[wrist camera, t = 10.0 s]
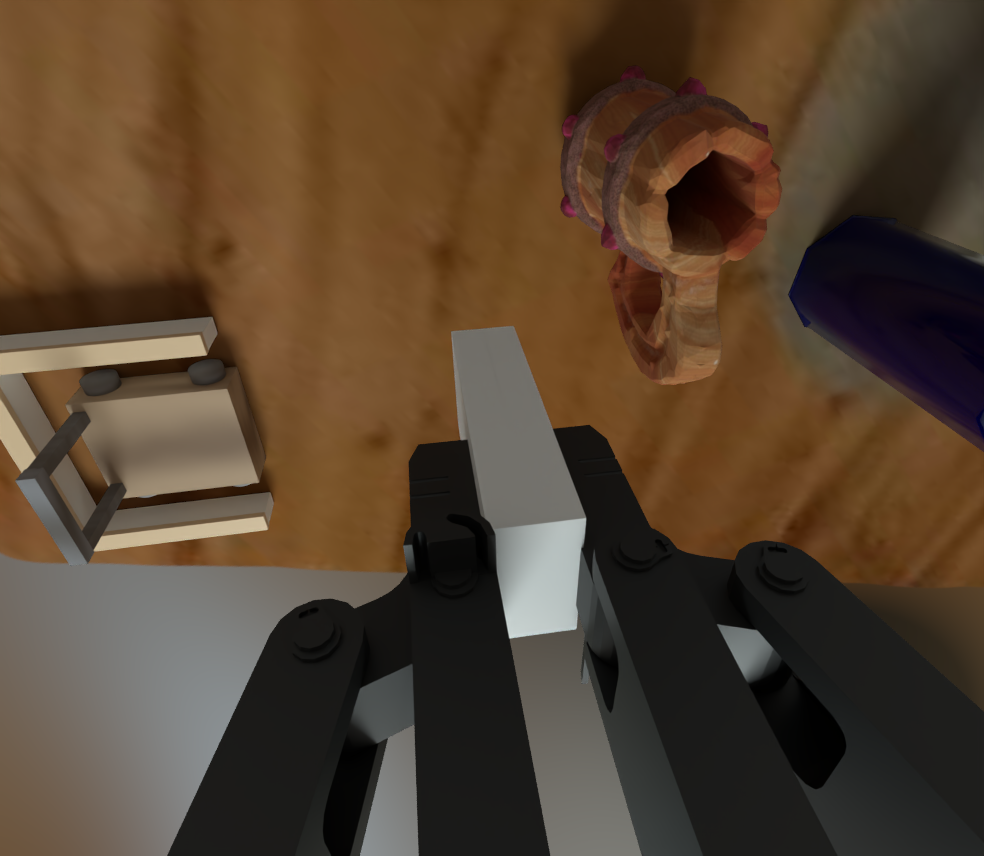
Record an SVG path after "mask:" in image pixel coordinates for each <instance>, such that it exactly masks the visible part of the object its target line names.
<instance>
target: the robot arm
mask: <svg viewBox="0 0 984 856" xmlns="http://www.w3.org/2000/svg"><path fill="white" fill-rule="evenodd" d="M451 334H452V347H453V360H454V373H455V386H456V400H457V413H458V425H459V432H460V438H461V440H458V441H448V442H439V443H429V444H420V445H418V446H417V448H416V450H415V452H414V453H413V455H412V457H411V459H410V460H409V482H410V484H409V485H410V513H411V528H410V529H409V530H408V531H407V532H406V537H405V541H404V545H403V547H404V553H405V559H406V565H407V570H408V573H407V575H406V576H405V578H404V579H403V580H402V581H401V583H400V584H399V585H398V586H397V587H395V588H394V589H393V590H392V591H390V592H389V593H388V594H386V595H384V596H382V597H380V598H378V599H376V600H374V601H371V602H369V603H367V604H364V605H362V606H360V607H357V608H355V609H354V608H353V607H352V606H351V605H349V604H348V603H346V602H342V601H339V600H335V599H322V600H313V601H311V602H308V603H306V604H303V605H301V606H298V607H296V608H295V609H293V610H292V611H291V612H290V613H288V614H287V615H286V616H284V617H283V618H282V619H281V620H280V621H279V622H278V624H277V625H276V627H275V628H274V630H273V631H272V633H271V634H270V636H269V638H268V640H267V642H266V645H265V647H264V649H263V651H262V653H261V655H260V657H259V660H258V662H257V664H256V666H255V668H254V671H253V672H252V675H251V677H250V679H249V681H248V683H247V685H246V687H245V690H244V692H243V694H242V696H241V698H240V701H239V703H238V705H237V707H236V709H235V711H234V713H233V715H232V718H231V720H230V722H229V724H228V727H227V728H226V731H225V733H224V735H223V737H222V739H221V741H220V743H219V745H218V748H217V750H216V752H215V754H214V756H213V758H212V761H211V763H210V765H209V767H208V769H207V771H206V773H205V776H204V778H203V780H202V782H201V784H200V786H199V789H198V791H197V793H196V795H195V797H194V799H193V801H192V803H191V806H190V808H189V810H188V812H187V814H186V816H185V819H184V821H183V823H182V825H181V827H180V829H179V831H178V834H177V836H176V838H175V840H174V842H173V844H172V846H171V849H170V851H169V853H168V855H167V856H360V852H361V848H362V844H363V840H364V835H365V832H366V827H367V823H368V819H369V815H370V811H371V806H372V802H373V798H374V794H375V790H376V786H377V782H378V777H379V773H380V769H381V765H382V761H383V756H384V752H385V748H386V744H387V740H388V737H390V736H392V735H394V734H396V733H398V732H400V731H402V730H404V729H406V728H408V727H410V726H412V725H414V726H415V754H416V755H415V756H416V785H417V816H418V845H419V856H550V852H549V847H548V841H547V836H546V831H545V826H544V820H543V815H542V809H541V804H540V799H539V793H538V788H537V783H536V778H535V772H534V767H533V762H532V756H531V751H530V746H529V740H528V735H527V730H526V725H525V720H524V714H523V708H522V703H521V698H520V692H519V687H518V682H517V676H516V672H515V666H514V661H513V655H512V650H511V645H510V639H509V638H516V637H522V636H530V635H537V634H544V633H551V632H559V631H566V630H573V629H576V626H577V616H578V613H579V617H580V620H581V623H582V627H583V629H584V633H585V638H584V647H583V657H582V666H581V680H582V684H585V683H588V679H589V676H590V679H591V683H592V686H593V689H594V693H595V696H596V700H597V703H598V707H599V710H600V713H601V717H602V720H603V723H604V727H605V730H606V734H607V737H608V741H609V744H610V747H611V751H612V755H613V758H614V762H615V765H616V768H617V772H618V775H619V778H620V782H621V786H622V789H623V792H624V796H625V799H626V803H627V806H628V810H629V813H630V816H631V820H632V823H633V826H634V830H635V834H636V837H637V840H638V844H639V847H640V851H641V854H642V856H984V712H983V711H982V710H981V709H980V708H979V707H978V706H977V705H976V704H975V703H973V702H972V701H971V700H970V699H969V698H968V697H967V696H966V695H965V694H964V693H962V692H961V691H960V690H959V689H958V688H957V687H956V686H955V685H954V684H952V683H951V682H950V681H949V680H948V679H947V678H946V677H945V676H944V675H943V674H941V673H940V672H939V671H938V670H937V669H936V668H935V667H934V666H933V665H931V664H930V663H929V662H928V661H927V660H926V659H925V658H923V656H921V655H920V654H919V653H918V652H917V651H916V650H915V649H914V648H913V647H911V646H910V645H909V644H908V643H907V642H906V641H905V640H904V639H903V638H902V637H900V636H899V635H898V634H897V633H896V632H895V631H894V630H893V629H892V628H890V627H889V626H888V625H887V624H886V623H885V622H884V621H882V619H881V618H879V617H878V616H877V615H876V614H875V613H874V612H873V611H872V610H870V609H869V608H868V607H867V606H866V605H865V604H864V603H863V602H862V601H861V600H859V599H858V598H857V597H856V596H855V595H854V594H853V593H852V592H851V591H849V590H848V589H847V588H846V587H845V586H844V585H843V584H842V583H841V582H840V581H838V580H837V579H836V578H835V577H834V576H833V575H832V574H831V573H830V572H828V571H827V570H826V569H825V568H824V567H823V566H822V565H821V564H820V563H818V562H817V561H816V560H815V559H813V558H812V557H811V556H809V555H808V554H806V553H805V552H803V551H802V550H800V549H798V548H795V547H793V546H790V545H787V544H785V543H781V542H773V541H760V542H753V543H750V544H748V545H746V546H745V547H743V548H742V549H740V550H739V552H738V554H737V556H736V559H735V560H728V559H720V558H713V557H706V556H699V555H695V554H690V553H686V552H684V551H681V550H679V549H677V548H676V546H675V545H674V544H673V543H672V541H671V540H670V539H669V538H668V537H666V536H665V535H663V534H662V533H660V532H659V531H657V530H655V529H652V528H651V527H650V525H649V523H648V521H647V519H646V517H645V515H644V513H643V511H642V509H641V507H640V505H639V503H638V501H637V499H636V497H635V495H634V493H633V491H632V489H631V487H630V485H629V483H628V481H627V479H626V477H625V475H624V473H623V474H622V469H621V467H620V465H619V463H618V461H617V459H615V455H614V453H613V451H612V449H611V447H610V445H609V443H608V441H607V439H606V438H605V437H604V436H602V435H601V434H600V433H599V432H598V431H596V430H595V429H594V428H593V427H591V426H590V425H585V426H575V427H566V428H556V429H552V426H551V423H550V421H549V418H548V416H547V413H546V410H545V408H544V405H543V402H542V400H541V397H540V394H539V392H538V389H537V387H536V384H535V381H534V379H533V376H532V373H531V371H530V368H529V365H528V363H527V360H526V357H525V355H524V352H523V350H522V347H521V344H520V342H519V339H518V336H517V334H516V331H515V328H514V326H508V327H496V328H485V329H474V330H462V331H451Z"/></svg>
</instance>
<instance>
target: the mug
mask: <svg viewBox="0 0 984 856" xmlns="http://www.w3.org/2000/svg"><path fill="white" fill-rule="evenodd" d="M562 132H563V135H564V136H565V140H564V145H563V149H562V154H561V179H562V186H563V190H564V193H565V197H564V198H563V200H562V202H561V211H562V212H563V214H564V215H565V216H567V217H569V218H570V217H575V216H576V215H577V217H578V218H579V219H580V220H581V221H582V222H584V223H585V224H587V225H588V226H589V227H591V228H592V229H594V230H595V231H596V232H598V233H600V234H601V244H602V246H603V247H605V248H608V249H611V250H614V249H620V250H621V251H620V253H619V256H618V259H617V261H616V263H615V264H614V266H613V268H612V270H611V271H610V274H609V277H608V282H609V285H610V288H611V291H612V294H613V299H614V304H615V308H616V312H617V316H618V319H619V323H620V327H621V330H622V333H623V336H624V339H625V342H626V344H627V346H628V348H629V350H630V352H631V355H632V357H633V359H634V360H635V362H636V364H637V366H638V367H639V369H640V371H641V372H642V373H644V374H645V375H646V376H647V378H649V379H650V380H652V381H653V382H656V383H659V384H662V385H666V384H671V385H676V384H678V383H683V384H685V383H687V382H691V381H695V380H699V379H703V378H705V377H708V376H710V375H712V374H713V372H714V371H715V369H716V367H717V366H718V364H719V362H720V358H721V351H722V341H721V333H720V326H719V319H718V312H717V288H718V280H719V271H720V267H721V265H722V264H724V263H725V262H727V261H728V260H733V261H736V260H740V259H742V258H744V257H745V256H746V255H747V254H749V253H750V252H751V251H752V250H753V249H754V248H755V247H756V246H757V245H758V244H759V243H760V242H761V241H762V239H763V237H764V235H765V233H766V230H767V223H766V218H767V217H769V216H770V215H771V214H772V213H773V212H774V211H775V210H776V209H777V207H778V205H779V202H780V197H781V192H782V187H781V184H780V181H779V179H778V177H779V174H780V171H781V170H780V167H779V166H778V165H776V164H775V163H774V162H773V161H772V160H771V158H772V155H773V151H774V150H773V148H772V145H771V143H770V140H769V139H768V128H767V125H763V124H760V123H756V122H752V123H751V122H750V120H749V119H748V117H747V116H746V115H745V114H744V113H743V112H742V111H741V110H740V109H739V108H738V107H736V106H735V105H733V104H731V103H729V102H727V101H726V100H724V99H721V98H717V97H714V96H709V95H707V93H706V88H705V87H704V86H703V84H702V83H701V82H700V81H699V80H697V79H694V78H691V77H689V78H688V80H687V81H686V82H685V83H684V84H683V85H682V86H681V87H680V89H679V90H678V91H677V92H676V93H675V92H674V91H673V90H671V89H669V88H668V87H666V86H664V85H663V84H659V83H656V82H652V81H649V80H646V78H645V74H644V71H643V70H642V69H641V68H640V67H639V66H628V68H627V69H626V70H625V71H624V73H623V75H622V76H621V79H620V82H618V83H616V84H613V85H611V86H609V87H607V88H605V89H604V90H602V91H601V92H599V93H597V94H596V95H594V96H593V97H592V98H591V99H590V100H589V101H588V102H587V103H586V104H585V105H584V106H583V108H582V109H581V110H580V112H579V113H578V114H577V115H570V116H568V118H567V119H566V120H565V122H564V123H563V125H562ZM660 276H661V277H662V278H663V290H662V291H661V287H660V284H661V278H660Z"/></svg>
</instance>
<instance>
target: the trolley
mask: <svg viewBox="0 0 984 856" xmlns="http://www.w3.org/2000/svg"><path fill="white" fill-rule="evenodd" d="M79 383H80V385H81V387H80V388H79V389H78V391H77V392H76V393H75V394H74V395H73V396H72V398H71V399H70V400H69V401H68V402H67V403H66V405H65V406H66V408H67V410H68V411H69V413H70V416H69V418H68V419H67V420H66V421H65V423H64V424H63V425H62V426H61V427H60V429H59V430H58V431H57V432H56V434H55V435H54V436H53V437H52V439H51V440H50V441H49V442H48V443H47V445H46V446H45V447H44V448H43V450H42V451H41V452H40V453H39V454H38V456H37V457H36V458H35V459H34V461H33V462H32V463H31V464H30V466H29V467H28V468H27V469H25V470H24V471H23V472H22V473H21V474H20V476H19V477H18V478H17V479H16V480H15V481H16V483H17V484H18V486H19V487H20V489H21V490H22V492H23V493H24V495H25V496H26V498H27V500H28V501H29V503H30V504H31V506H32V507H33V509H34V510H35V512H36V513H37V515H38V517H39V518H40V520H41V521H42V523H43V524H44V526H45V527H46V529H47V530H48V532H49V533H50V535H51V537H52V538H53V540H54V541H55V543H56V544H57V546H58V547H59V549H60V550H61V552H62V554H63V555H64V557H65V558H66V560H67V561H68V563H69V564H70V566H74V565H82V564H88V562H89V561H90V559H91V557H92V555H93V553H94V549H95V547H96V545H97V544H98V542H99V540H100V538H101V536H102V535H103V533H104V531H105V529H106V528H107V526H108V524H109V522H110V520H111V519H112V517H113V515H114V513H115V512H116V510H117V508H118V506H119V504H120V503H121V501H122V499H123V498H131V497H141V498H148V497H152V496H155V495H157V494H165V493H174V492H183V491H191V490H200V489H208V488H217V487H225V486H236V487H242V486H247V485H250V484H252V483H259V481H260V478H261V474H262V470H263V467H264V463H265V460H266V455H265V452H264V449H263V446H262V443H261V440H260V437H259V434H258V431H257V427H256V424H255V421H254V418H253V415H252V412H251V409H250V406H249V403H248V399H247V396H246V393H245V390H244V387H243V384H242V381H241V378H240V375H239V372H238V368H237V367H228V368H224V365H223V363H222V361H221V360H218V359H206V360H202V361H199V362H196V363H194V364H192V365H191V366H190V367H189V368H188V371H187V372H177V373H166V374H156V375H146V376H136V377H126V378H119V376H118V373H117V371H116V370H113V369H102V370H97V371H94V372H91V373H89V374H87V375H85V376H83V377H82V378H81V379H80V381H79ZM80 436H82V438H83V440H84V441H85V443H86V445H87V447H88V449H89V451H90V453H91V455H92V456H93V458H94V460H95V462H96V464H97V466H98V468H99V469H100V471H101V473H102V475H103V477H104V479H105V481H106V483H107V484H108V486H109V487H108V489H107V491H106V492H105V494H104V495H103V497H102V499H101V500H100V502H99V504H98V505H97V507H96V509H95V510H94V512H93V514H92V515H91V517H90V519H89V520H88V522H87V524H86V525H85V527H84V528H83V530H81V529H80V527H79V525H78V524H77V522H76V520H75V519H74V517H73V516H72V514H71V512H70V511H69V509H68V507H67V506H66V504H65V502H64V501H63V499H62V497H61V496H60V494H59V492H58V491H57V489H56V487H55V486H54V484H53V482H52V481H51V479H50V475H51V474H52V473H53V472H54V470H55V469H56V468H57V466H58V465H59V464H60V462H61V461H62V460H63V458H64V457H65V456H66V454H67V453H68V452H69V450H70V449H71V448H72V446H73V445H74V444H75V442H76V441H77V440H78V438H79V437H80Z"/></svg>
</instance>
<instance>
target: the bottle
mask: <svg viewBox="0 0 984 856" xmlns="http://www.w3.org/2000/svg"><path fill="white" fill-rule="evenodd" d="M789 297H790V299H791V301H792V303H793V305H794V307H795V309H796V311H797V313H798V315H799V317H800V319H801V321H802V323H803V325H804V327H809V328H810V329H812V330H813V331H814V332H816V333H817V334H819V335H820V336H821V337H823V338H824V339H826V340H827V341H828V342H830V343H831V344H833V345H834V346H835V347H837V348H838V349H840V350H841V351H843V352H844V353H845V354H847V355H848V356H850V357H851V358H852V359H854V360H855V361H857V362H858V363H859V364H861V365H862V366H864V367H865V368H866V369H868V370H869V371H871V372H872V373H873V374H875V375H876V376H878V377H879V378H880V379H882V380H883V381H885V382H886V383H888V384H889V385H890V386H892V387H893V388H895V389H896V390H897V391H899V392H900V393H902V394H903V395H904V396H906V397H907V398H909V399H910V400H911V401H913V402H914V403H916V404H917V405H918V406H920V407H921V408H923V409H924V410H925V411H927V412H928V413H930V414H931V415H933V416H934V417H935V418H937V419H938V420H940V421H941V422H942V423H944V424H945V425H947V426H948V427H949V428H951V429H952V430H954V431H955V432H956V433H958V434H959V435H961V436H962V437H963V438H965V439H966V440H968V441H969V442H970V443H972V444H973V445H975V446H976V447H977V448H979V449H980V450H982V451H983V452H984V255H982V254H979V253H977V252H974V251H971V250H969V249H966V248H964V247H961V246H959V245H956V244H953V243H951V242H948V241H946V240H943V239H941V238H938V237H936V236H933V235H930V234H928V233H925V232H923V231H920V230H918V229H915V228H913V227H910V226H907V225H905V224H902V223H900V222H897V220H896V219H895V218H883V217H871V216H858V215H852V216H851V217H850V218H848V219H847V220H845V221H844V222H843V223H841V224H840V225H839V226H837V227H836V228H834V229H833V230H832V231H830V232H829V233H828V234H826V235H825V236H823V237H822V238H821V239H819V240H818V241H816V242H815V243H814V244H812V245H811V246H810V247H808V248H807V250H806V252H805V255H804V257H803V260H802V262H801V265H800V267H799V270H798V272H797V275H796V277H795V280H794V282H793V285H792V287H791V290H790V292H789Z"/></svg>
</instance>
